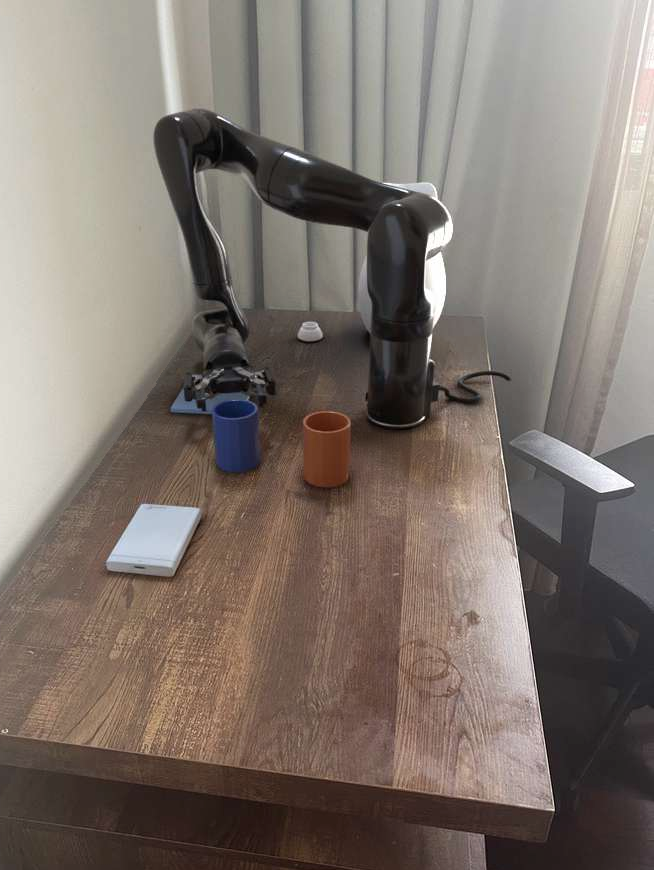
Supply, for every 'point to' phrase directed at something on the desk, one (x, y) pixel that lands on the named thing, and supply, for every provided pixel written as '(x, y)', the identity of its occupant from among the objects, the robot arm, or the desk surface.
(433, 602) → the desk surface
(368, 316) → the pitcher
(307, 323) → the white jar
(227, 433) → the blue cup
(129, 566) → the hard drive
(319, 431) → the terracotta cup
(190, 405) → the blue mat
